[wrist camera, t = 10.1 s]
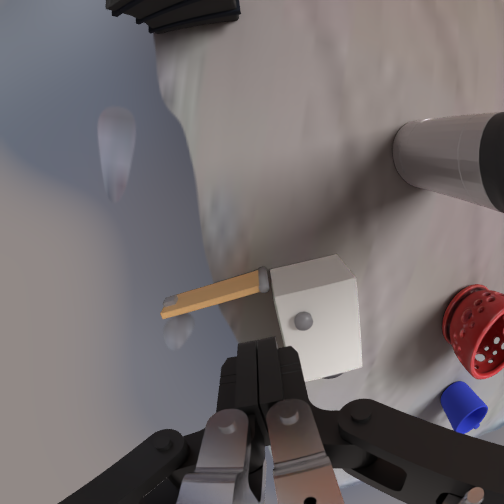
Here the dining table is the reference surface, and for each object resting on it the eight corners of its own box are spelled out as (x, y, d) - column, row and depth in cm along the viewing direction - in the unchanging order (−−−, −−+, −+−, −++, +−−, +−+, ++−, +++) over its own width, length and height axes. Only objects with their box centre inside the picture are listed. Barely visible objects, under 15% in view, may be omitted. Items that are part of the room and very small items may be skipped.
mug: (447, 414, 51) (464, 442, 42) (430, 397, 49) (450, 429, 39) (473, 391, 49) (493, 417, 40) (460, 370, 47) (484, 400, 37)
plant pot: (497, 291, 41) (537, 320, 30) (460, 349, 45) (492, 386, 34) (464, 262, 40) (510, 292, 28) (421, 329, 43) (456, 372, 32)
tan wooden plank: (268, 273, 40) (270, 290, 35) (172, 302, 41) (163, 321, 36) (264, 262, 39) (266, 278, 34) (167, 292, 40) (157, 310, 35)
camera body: (336, 253, 39) (358, 280, 30) (347, 343, 43) (364, 380, 35) (267, 269, 39) (272, 300, 31) (288, 357, 44) (295, 397, 36)
